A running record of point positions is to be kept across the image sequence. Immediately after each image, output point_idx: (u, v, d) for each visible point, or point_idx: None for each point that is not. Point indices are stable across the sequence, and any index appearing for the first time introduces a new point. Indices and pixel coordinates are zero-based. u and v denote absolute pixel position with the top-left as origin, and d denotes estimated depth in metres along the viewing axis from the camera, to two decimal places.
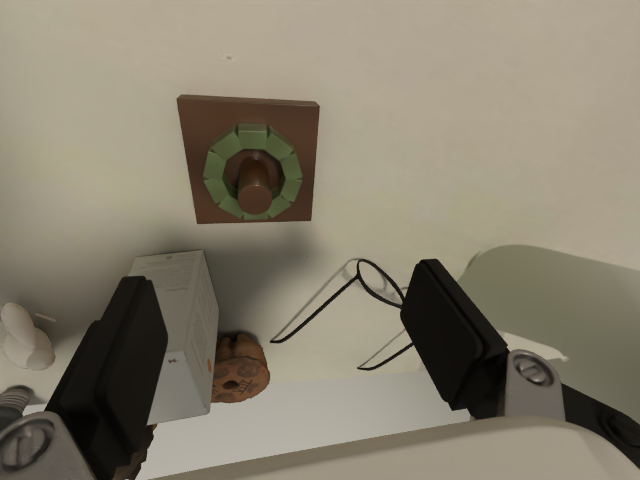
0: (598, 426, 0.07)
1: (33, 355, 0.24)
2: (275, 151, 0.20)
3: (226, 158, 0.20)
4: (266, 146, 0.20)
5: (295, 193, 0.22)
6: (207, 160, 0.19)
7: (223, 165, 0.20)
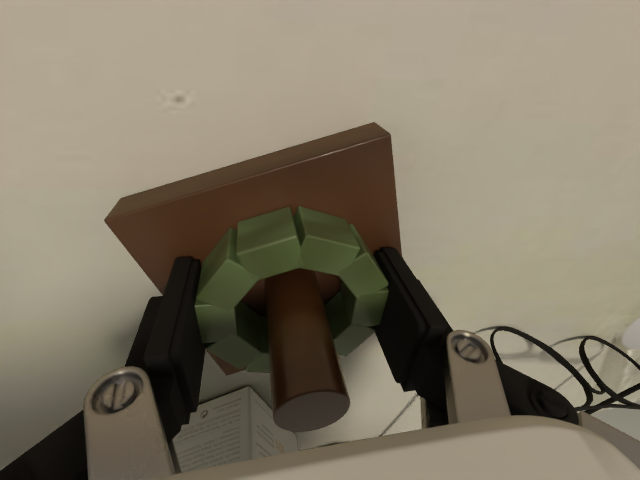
0: (527, 400, 0.08)
1: None
2: (324, 263, 0.09)
3: (232, 305, 0.09)
4: (303, 261, 0.09)
5: (381, 313, 0.11)
6: (198, 319, 0.10)
7: (231, 316, 0.10)
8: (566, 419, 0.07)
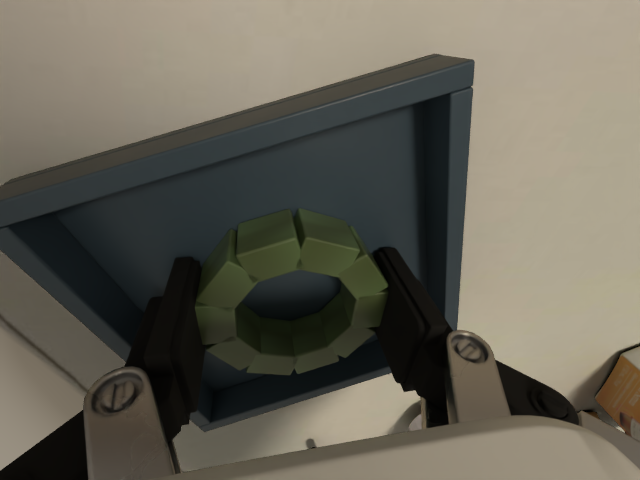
0: (527, 400, 0.08)
1: None
2: (324, 265, 0.09)
3: (232, 306, 0.10)
4: (303, 263, 0.09)
5: (380, 314, 0.11)
6: (198, 320, 0.10)
7: (231, 318, 0.10)
8: (566, 419, 0.07)
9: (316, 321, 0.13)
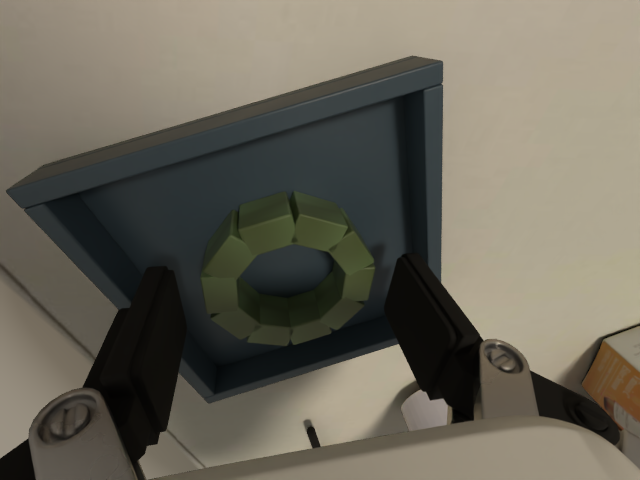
0: (564, 412, 0.07)
1: None
2: (316, 240, 0.10)
3: (234, 277, 0.11)
4: (297, 238, 0.10)
5: (368, 288, 0.12)
6: (204, 290, 0.11)
7: (233, 289, 0.11)
8: (607, 432, 0.07)
9: (311, 297, 0.14)
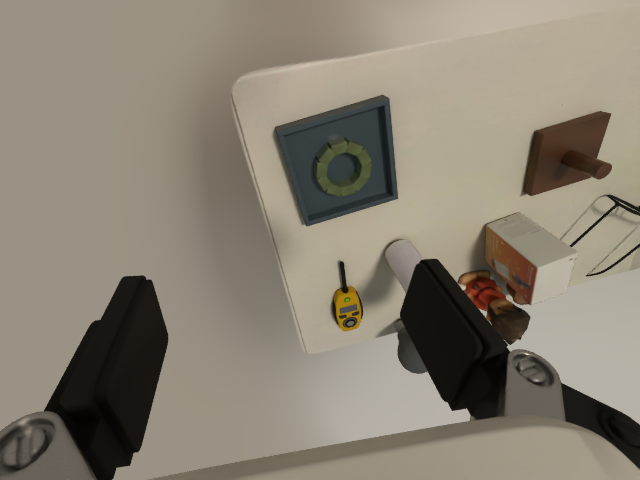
0: (598, 426, 0.07)
1: None
2: (353, 151, 0.34)
3: (327, 163, 0.34)
4: (348, 150, 0.34)
5: (369, 172, 0.36)
6: (317, 167, 0.34)
7: (326, 168, 0.34)
8: None
9: (348, 180, 0.37)
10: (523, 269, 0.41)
